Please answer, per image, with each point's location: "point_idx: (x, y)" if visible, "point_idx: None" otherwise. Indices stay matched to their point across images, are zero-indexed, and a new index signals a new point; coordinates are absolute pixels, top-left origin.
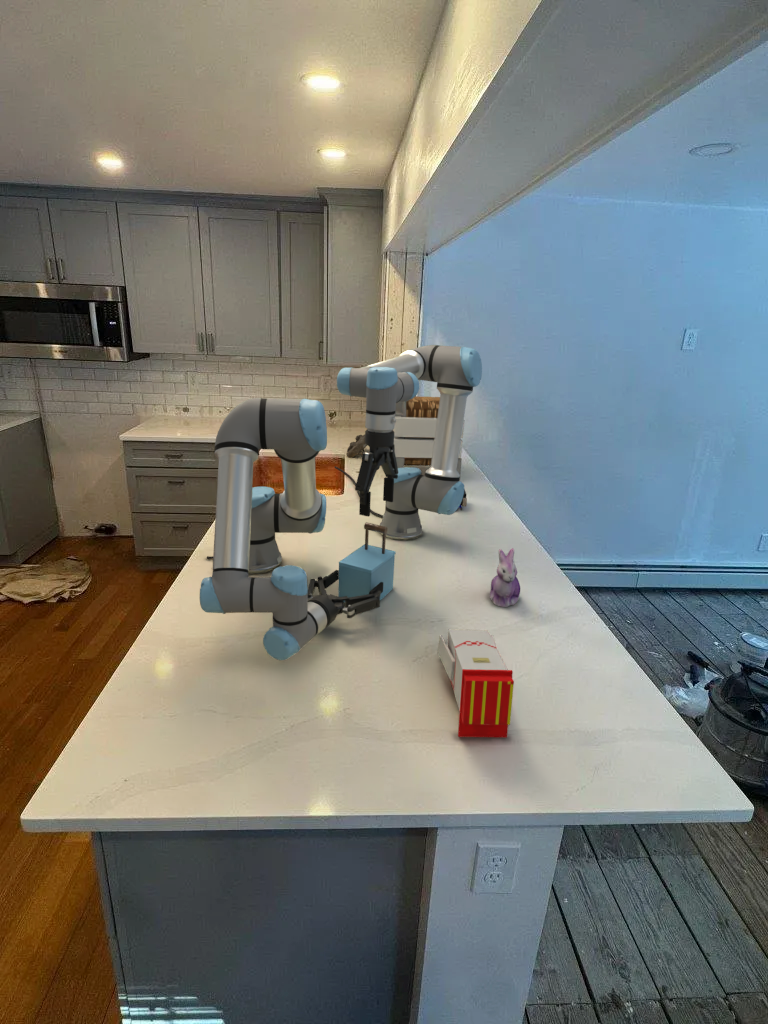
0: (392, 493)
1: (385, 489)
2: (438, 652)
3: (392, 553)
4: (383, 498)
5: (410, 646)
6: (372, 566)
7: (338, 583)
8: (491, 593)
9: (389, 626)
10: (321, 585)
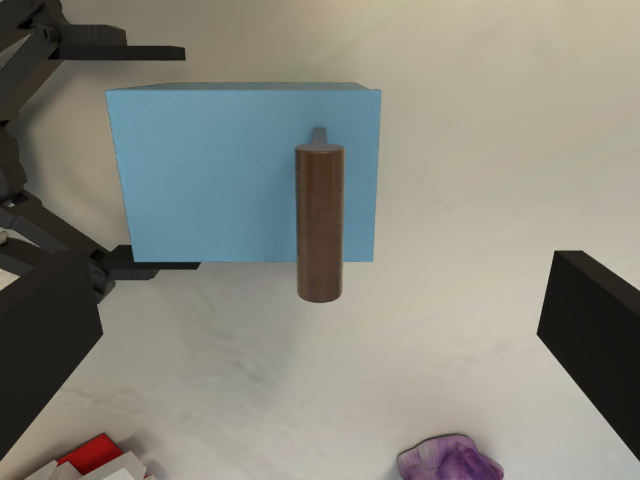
0: (591, 394)
1: (628, 341)
2: (46, 466)
3: (343, 260)
4: (566, 263)
5: (104, 363)
6: (169, 248)
7: (149, 85)
8: (434, 450)
9: (147, 289)
10: (14, 72)
